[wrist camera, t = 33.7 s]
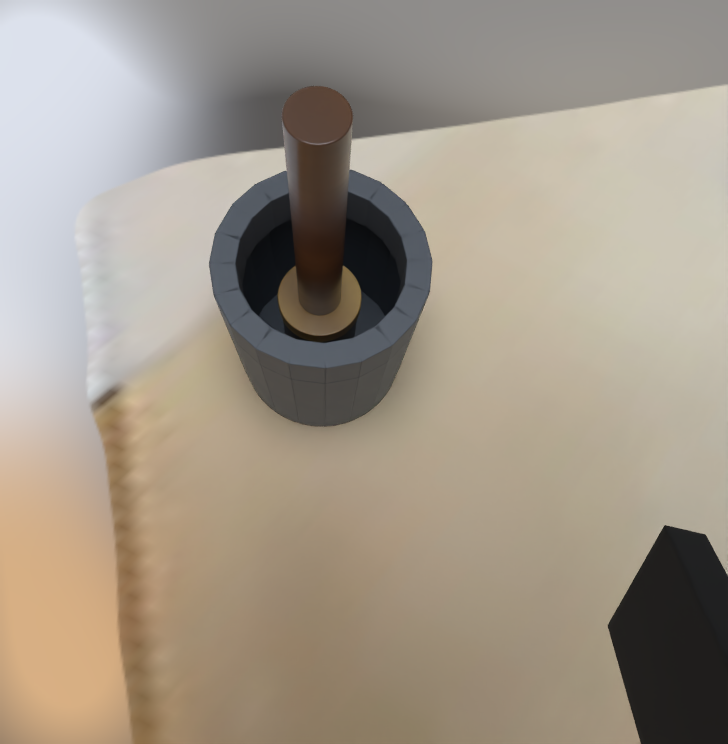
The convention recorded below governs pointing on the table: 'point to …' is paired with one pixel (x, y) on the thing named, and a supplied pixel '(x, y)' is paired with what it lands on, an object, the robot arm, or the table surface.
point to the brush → (318, 217)
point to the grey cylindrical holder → (377, 313)
